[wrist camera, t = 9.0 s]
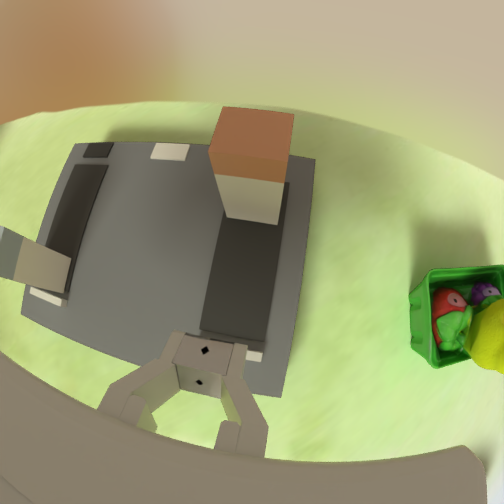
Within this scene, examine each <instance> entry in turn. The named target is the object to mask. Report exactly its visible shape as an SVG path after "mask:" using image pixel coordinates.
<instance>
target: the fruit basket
mask: <svg viewBox="0 0 504 504" xmlns="http://www.w3.org/2000/svg"><path fill="white" fill-rule="evenodd" d="M409 301H410V304H411V307H410V329H411V334H412V337H413V338H412V340H411V348H412V349H413V350H414V351H416V352H417V353H418V354H420V355H421V356H422V357H424V358H425V359H426V360H427V362H428V363H429V364H430V365H431V366H432V367H433V368H435V369H439V368H442V367H445V366H449V365H452V364H455V363H459V362H462V361H465V360H468V359H471V358H472V359H473V361H474V362H475V363H476V364H477V365H478V366H480V367H482V368H484V369H489V370H496V371H498V372H499V373H502V374H504V265H491V266H480V267H479V266H478V267H462V268H444V269H432V270H430V271H429V272H428V273H427V275H426V276H425V277H424V279H423V281H422V282H421V283H420V284H419V285H418V286H417V287H416V288H415V289H414V290H413V291H412V292H411V293H410V294H409Z"/></svg>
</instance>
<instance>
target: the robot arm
mask: <svg viewBox="0 0 504 504" xmlns="http://www.w3.org/2000/svg"><path fill="white" fill-rule="evenodd" d="M247 348H248V345H244V344H239V343H235V342H229V341H224V340H218V339H213V338H207V337H202V336H198V335H194V334H191V333H187V332H183V331H179V330H175V329H174V330H173V332H172V333H171V335H170V337H169V339H168V341H167V343H166V345H165V347H164V349H163V351H162V353H161V355H160V357H159V359H154V360H152V361H150V362H149V363H147V364H145V365H143V366H142V367H140V368H138V369H137V370H135V371H133V372H131V373H130V374H128V375H126V376H124V377H123V378H121V379H119V380H117V381H116V382H114V383H112V384H110V386H109V388H108V390H107V392H106V393H105V395H104V397H103V399H102V401H101V403H100V405H99V407H98V408H97V410H96V409H94V408H92V407H90V406H88V405H86V404H84V403H82V402H80V401H78V400H76V399H74V398H72V397H70V396H68V395H67V394H65V393H63V392H61V391H59V390H58V389H56V388H54V387H53V386H51V385H49V384H48V383H46V382H44V381H43V380H41V379H40V378H38V377H36V376H35V375H33V374H32V373H30V372H29V371H27V370H26V369H24V368H23V367H21V366H20V365H19V364H17V363H16V362H14V361H13V360H12V359H10V358H9V357H8V356H6V355H5V354H4V353H2V352H1V351H0V504H487V485H486V474H485V469H484V465H483V463H482V462H481V460H480V459H479V458H478V457H477V456H476V455H475V454H474V453H473V452H472V451H471V450H470V449H469V448H468V447H466V446H464V445H459V446H454V447H451V448H447V449H442V450H438V451H433V452H428V453H423V454H418V455H412V456H405V457H398V458H390V459H381V460H369V461H352V462H310V461H292V460H280V459H270V458H264V456H265V449H266V442H267V435H268V427H269V426H268V425H267V423H266V421H265V419H264V417H263V415H262V413H261V411H260V409H259V407H258V405H257V403H256V402H255V400H254V398H253V396H252V394H251V392H250V390H249V388H248V386H247V384H246V382H245V380H244V379H242V378H243V373H244V367H245V361H246V355H247ZM180 389H181V390H186V391H190V392H194V393H199V394H203V395H207V396H211V397H215V398H219V399H221V402H222V405H223V408H224V410H225V413H226V415H227V418H228V421H227V420H224V421H223V422H221V425H220V428H219V432H218V436H217V439H216V443H215V447H214V449H211V448H206V447H202V446H198V445H194V444H190V443H186V442H183V441H179V440H176V439H172V438H169V437H166V436H163V435H159V434H156V433H155V432H156V430H157V425H156V423H155V420H154V418H153V416H152V414H151V413H152V412H153V411H155V410H156V409H157V408H159V407H160V406H161V405H162V404H164V403H165V402H166V401H167V400H169V399H170V398H171V397H172V396H174V395H175V394H176V393H177V392H179V391H180Z"/></svg>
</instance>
